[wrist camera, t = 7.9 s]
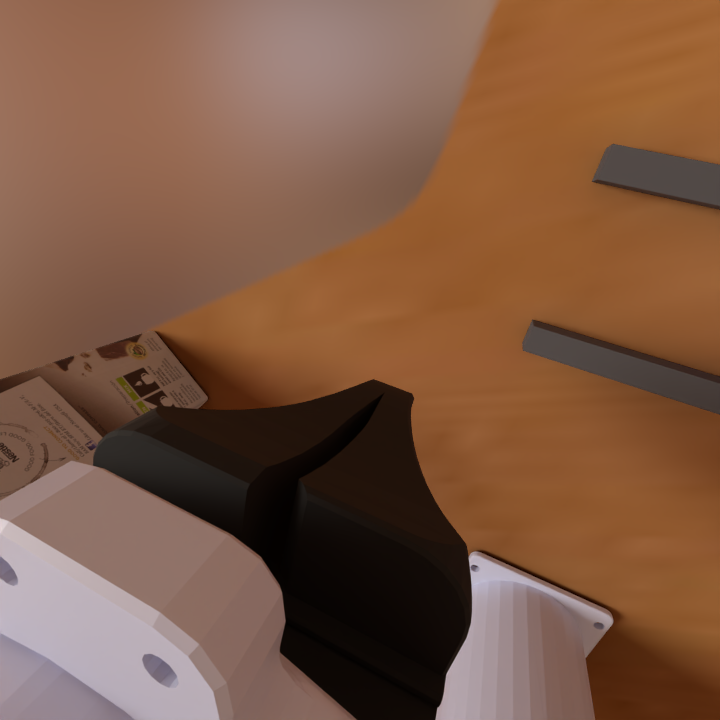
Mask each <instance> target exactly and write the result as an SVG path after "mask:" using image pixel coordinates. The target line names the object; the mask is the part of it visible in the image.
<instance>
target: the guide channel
mask: <svg viewBox="0 0 720 720" xmlns="http://www.w3.org/2000/svg"><path fill="white" fill-rule="evenodd" d="M592 182H596V183H601V184H605V185H610V186H614V187H619V188H624V189H628V190H633V191H637V192H642V193H646V194H651V195H656V196H660V197H665V198H669V199H674V200H678V201H683V202H688V203H692V204H697V205H701V206H706V207H710V208H715V209H719V210H720V165H718V164H713V163H708V162H703V161H698V160H692V159H687V158H682V157H677V156H672V155H667V154H662V153H657V152H652V151H646V150H641V149H636V148H631V147H626V146H621V145H616V144H612V145H611V146H609V147H608V148H606V150H605V152H604V155H603V157H602V159H601V162H600V164H599V166H598V169H597V171H596V173H595V176H594V178H593V180H592ZM523 351H526V352H529V353H532V354H535V355H538V356H541V357H544V358H547V359H551V360H554V361H557V362H560V363H563V364H566V365H569V366H572V367H575V368H578V369H581V370H584V371H587V372H591V373H594V374H597V375H600V376H603V377H606V378H609V379H612V380H615V381H618V382H621V383H624V384H627V385H630V386H634V387H637V388H640V389H643V390H646V391H649V392H652V393H655V394H658V395H661V396H664V397H667V398H670V399H674V400H677V401H680V402H683V403H686V404H689V405H692V406H695V407H698V408H701V409H704V410H707V411H710V412H714V413H717V414H720V377H719V376H715V375H712V374H709V373H706V372H702V371H699V370H696V369H693V368H689V367H686V366H683V365H679V364H676V363H673V362H670V361H666V360H663V359H660V358H657V357H653V356H650V355H647V354H643V353H640V352H637V351H634V350H630V349H627V348H624V347H621V346H617V345H614V344H611V343H607V342H604V341H601V340H598V339H594V338H591V337H588V336H585V335H581V334H578V333H575V332H571V331H568V330H565V329H562V328H558V327H555V326H552V325H549V324H545V323H542V322H539V321H535V320H532V322H531V324H530V326H529V329H528V331H527V333H526V336H525V338H524V340H523Z"/></svg>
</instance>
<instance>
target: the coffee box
mask: <svg viewBox="0 0 720 720" xmlns="http://www.w3.org/2000/svg"><path fill="white" fill-rule="evenodd" d="M207 400H208V397H207V396H206V394H205V393H204V392H203V390H202V389H201V388H200V387H199V385H198V384H197V383H196V382H195V381H194V379H193V378H192V377H191V376H190V374H189V373H188V372H187V371H186V369H185V368H184V367H183V366H182V364H181V363H180V362H179V361H178V359H177V358H176V357H175V356H174V354H173V353H172V352H171V351H170V350H169V348H168V347H167V346H166V345H165V343H164V342H163V341H162V340H161V338H160V337H159V336H158V335H157V333H156V332H154V331H149V332H145V333H142V334H139V335H136V336H133V337H130V338H127V339H124V340H121V341H117V342H114V343H111V344H109V345H105V346H102V347H99V348H96V349H92V350H89V351H86V352H83V353H80V354H76V355H74V356H71V357H68V358H65V359H62V360H59V361H56V362H53V363H50V364H46V365H43V366H40V367H37V368H34V369H31V370H28V371H25V372H22V373H19V374H16V375H12V376H10V377H6V378H3V379H0V501H1V500H2V499H4V498H6V497H8V496H9V495H11V494H13V493H15V492H17V491H18V490H20V489H22V488H24V487H25V486H27V485H29V484H31V483H33V482H34V481H36V480H38V479H40V478H42V477H43V476H45V475H47V474H49V473H50V472H52V471H54V470H56V469H58V468H59V467H61V466H63V465H65V464H66V463H68V462H70V461H75V462H80V463H84V464H88V465H92V466H93V456H94V452H95V450H96V447H97V445H98V442H99V441H100V440H101V439H102V438H103V437H104V436H105V435H106V434H108V433H110V432H111V431H113V430H115V429H117V428H119V427H121V426H122V425H124V424H126V423H128V422H130V421H132V420H133V419H135V418H137V417H139V416H141V415H143V414H144V413H146V412H148V411H150V410H152V409H154V408H155V407H157V406H159V405H162V406H170V407H181V408H192V409H198V408H200V407H201V406H202V405H203V404H204V403H205V402H206V401H207Z"/></svg>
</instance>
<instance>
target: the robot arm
mask: <svg viewBox="0 0 720 720" xmlns="http://www.w3.org/2000/svg"><path fill="white" fill-rule="evenodd" d="M413 401H414V397H413V395H412V393H409V392H406V391H404V390H401V389H398V388H396V387H393V386H390V385H387V384H385V383H382V382H379V381H377V380H374V379H373V380H370V381H367V382H365V383H362V384H359V385H357V386H354V387H352V388H349V389H346V390H343V391H340V392H338V393H335V394H332V395H328V396H325V397H321V398H318V399H314V400H311V401H307V402H303V403H298V404H292V405H287V406H281V407H272V408H261V409H249V410H206V409H192V408H181V407H170V406H162V405H159V406H157V407H155V408H154V409H152V410H150V411H148V412H146V413H144V414H143V415H141V416H139V417H137V418H135V419H133V420H132V421H130V422H128V423H126V424H124V425H122V426H121V427H119V428H117V429H115V430H113V431H111V432H110V433H108V434H106V435H105V436H104V437H103V438H102V439H101V440H100V441H99V442H98V445H97V447H96V450H95V452H94V456H93V466H92V465H88V464H84V463H80V462H75V461H70V462H68V463H66V464H65V465H63V466H61V467H59V468H58V469H56V470H54V471H52V472H50V473H49V474H47V475H45V476H43V477H42V478H40V479H38V480H36V481H34V482H33V483H31V484H29V485H27V486H25V487H24V488H22V489H20V490H18V491H17V492H15V493H13V494H11V495H9V496H8V497H6V498H4V499H2V500H1V501H0V720H595V715H594V709H593V703H592V696H591V690H590V684H589V678H588V672H587V665H586V659H585V658H586V657H587V656H588V654H589V653H590V652H591V651H592V649H593V648H594V647H595V646H596V644H597V643H598V642H599V641H600V639H601V638H602V637H603V636H604V634H605V633H606V632H607V631H608V629H609V628H610V627H611V626H612V624H613V622H614V621H613V617H612V614H611V612H610V611H608V610H607V609H605V608H602V607H600V606H598V605H596V604H594V603H591V602H589V601H587V600H585V599H583V598H580V597H578V596H576V595H574V594H572V593H569V592H567V591H565V590H563V589H561V588H558V587H556V586H554V585H552V584H549V583H547V582H545V581H543V580H541V579H538V578H536V577H534V576H532V575H530V574H527V573H525V572H523V571H521V570H519V569H516V568H514V567H512V566H510V565H508V564H505V563H503V562H501V561H499V560H496V559H494V558H492V557H490V556H488V555H485V554H483V553H481V552H472V553H471V554H470V556H469V557H468V550H467V546H466V544H465V542H464V541H463V539H462V538H461V537H460V535H459V534H458V533H457V532H456V530H455V529H454V528H453V526H452V525H451V524H450V523H449V521H448V520H447V519H446V517H445V516H444V514H443V513H442V511H441V510H440V508H439V506H438V505H437V503H436V502H435V500H434V498H433V496H432V494H431V492H430V490H429V488H428V486H427V484H426V481H425V479H424V476H423V474H422V471H421V468H420V465H419V462H418V459H417V455H416V451H415V447H414V442H413V436H412V427H411V407H412V404H413ZM473 565H477V566H478V567H475V566H473ZM596 622H599V623H596Z"/></svg>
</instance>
